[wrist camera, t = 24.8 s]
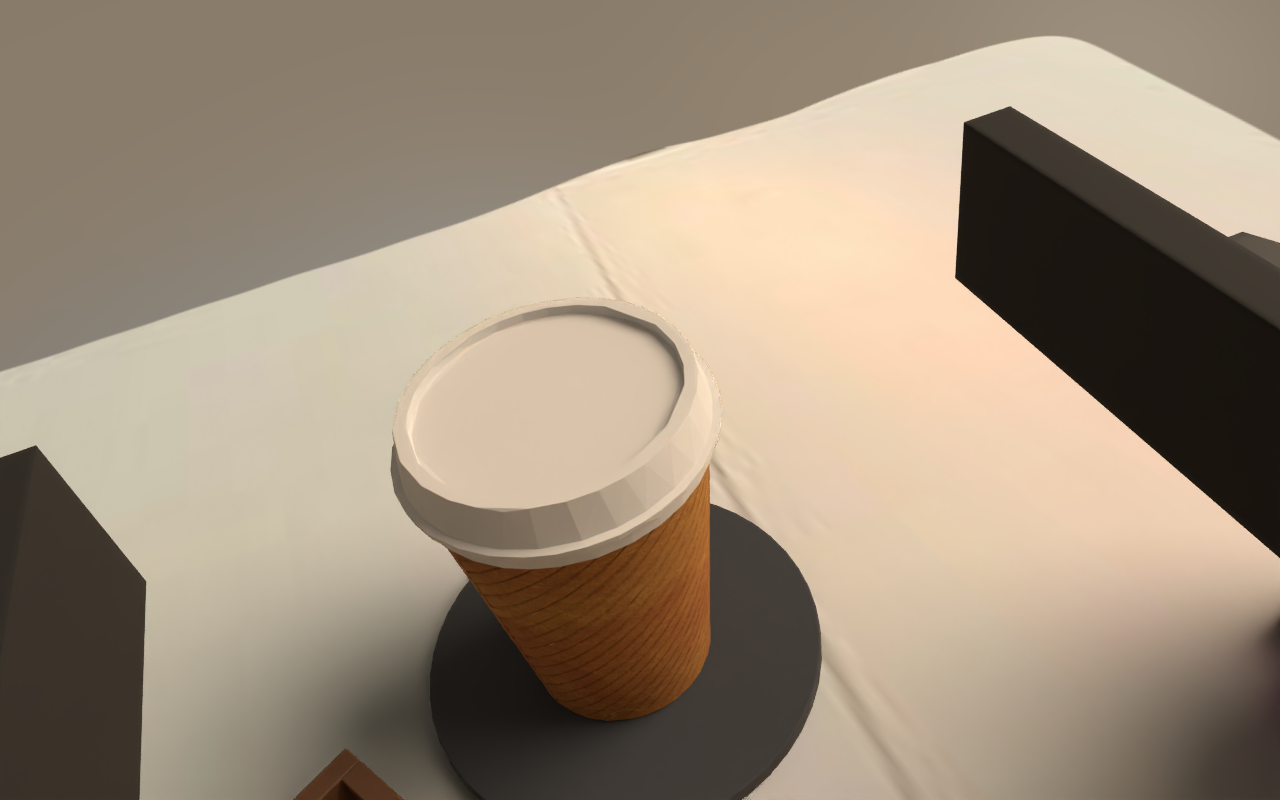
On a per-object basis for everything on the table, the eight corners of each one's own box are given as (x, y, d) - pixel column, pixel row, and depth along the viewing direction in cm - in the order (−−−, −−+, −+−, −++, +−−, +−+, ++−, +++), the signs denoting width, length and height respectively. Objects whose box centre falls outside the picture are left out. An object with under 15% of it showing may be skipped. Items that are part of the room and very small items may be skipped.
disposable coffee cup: (447, 735, 34) (310, 499, 26) (550, 522, 40) (465, 280, 32) (718, 797, 30) (656, 550, 22) (783, 555, 37) (752, 295, 29)
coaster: (357, 697, 36) (350, 688, 36) (606, 457, 43) (603, 448, 43) (650, 944, 28) (647, 936, 28) (897, 601, 35) (897, 591, 35)
